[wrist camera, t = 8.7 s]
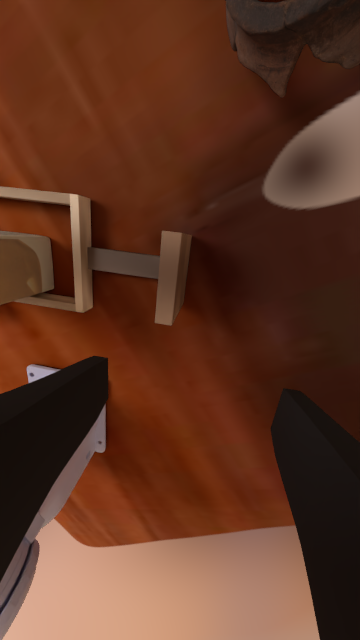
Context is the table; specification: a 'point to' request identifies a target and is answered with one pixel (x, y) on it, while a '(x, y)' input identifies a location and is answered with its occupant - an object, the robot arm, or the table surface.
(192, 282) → the table surface
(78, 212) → the carriage
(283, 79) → the pottery mug
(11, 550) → the robot arm
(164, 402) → the table surface
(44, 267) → the skincare box
